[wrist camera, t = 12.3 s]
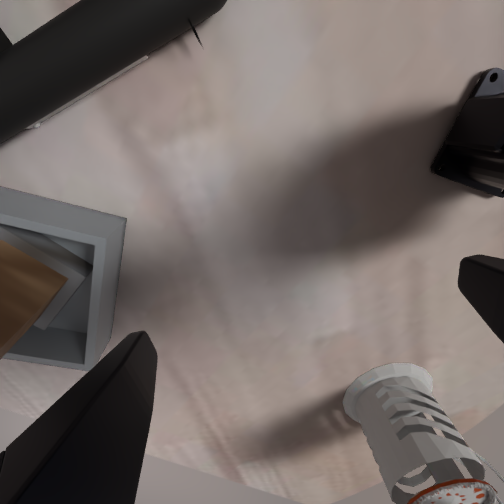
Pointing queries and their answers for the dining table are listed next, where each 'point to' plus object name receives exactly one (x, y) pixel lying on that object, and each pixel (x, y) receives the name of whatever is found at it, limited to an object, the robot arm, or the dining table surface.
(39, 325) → the wooden post on base
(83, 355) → the tray
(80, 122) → the dining table surface
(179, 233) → the dining table surface
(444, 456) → the french press
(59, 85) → the door handle
